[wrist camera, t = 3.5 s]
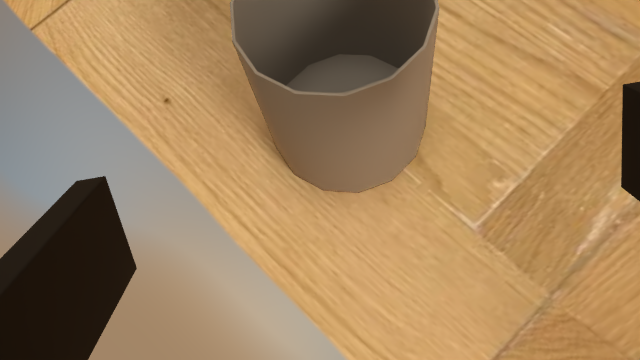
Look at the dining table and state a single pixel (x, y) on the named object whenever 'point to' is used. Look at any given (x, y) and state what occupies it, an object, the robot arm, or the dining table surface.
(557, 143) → the dining table surface
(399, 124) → the cup
